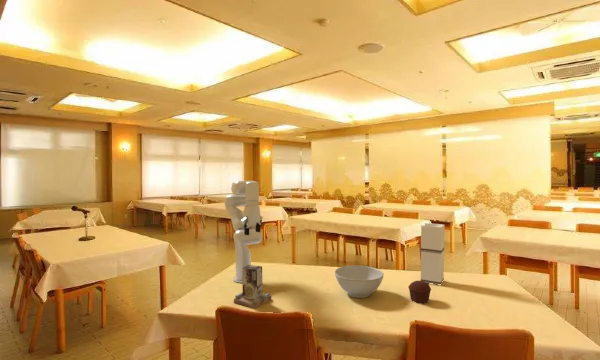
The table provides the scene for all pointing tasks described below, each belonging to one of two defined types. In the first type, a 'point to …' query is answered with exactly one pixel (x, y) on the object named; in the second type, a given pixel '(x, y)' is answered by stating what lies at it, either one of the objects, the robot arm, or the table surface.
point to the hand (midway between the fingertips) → (252, 233)
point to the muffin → (419, 291)
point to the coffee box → (252, 282)
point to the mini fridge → (432, 253)
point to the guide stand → (252, 300)
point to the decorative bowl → (359, 280)
